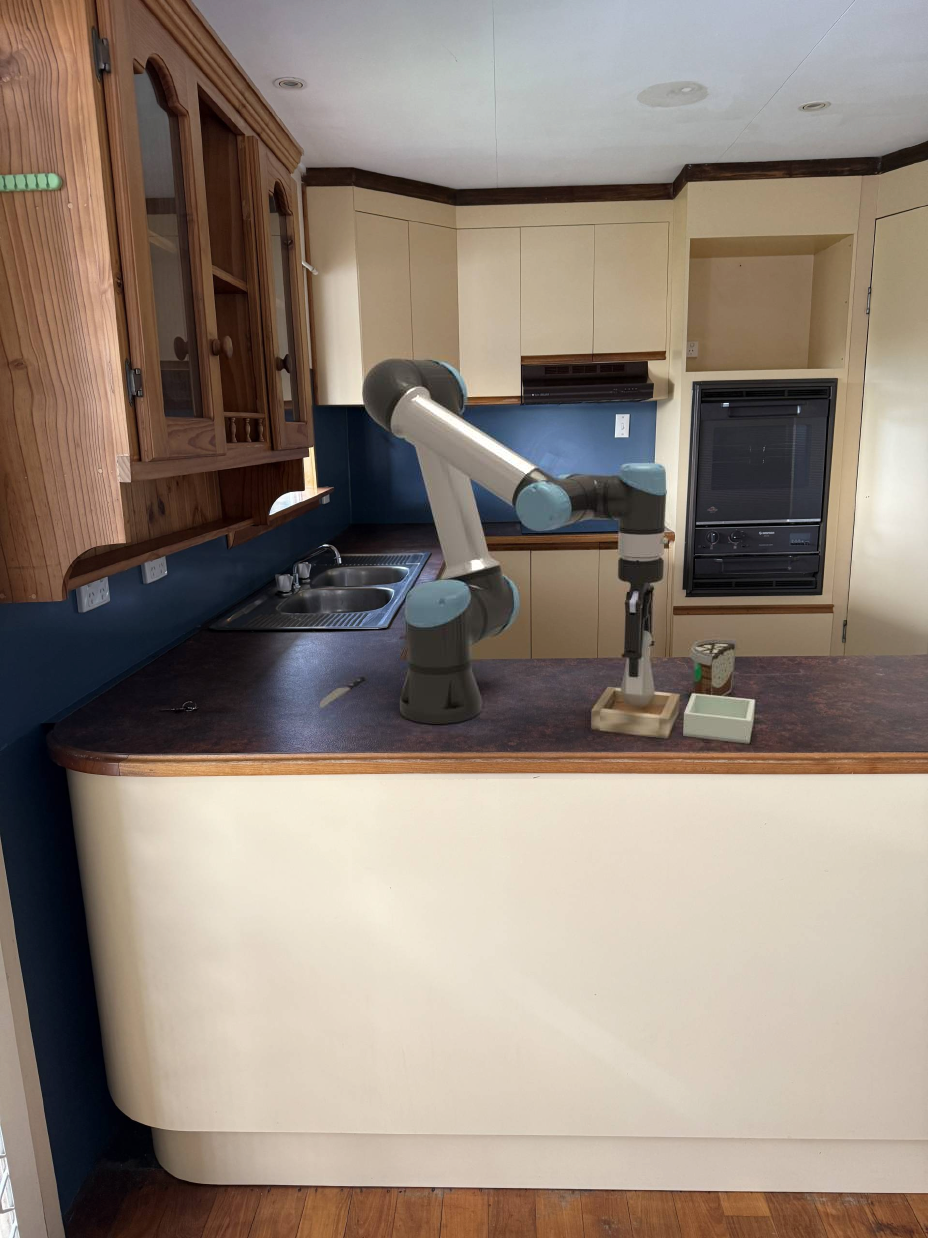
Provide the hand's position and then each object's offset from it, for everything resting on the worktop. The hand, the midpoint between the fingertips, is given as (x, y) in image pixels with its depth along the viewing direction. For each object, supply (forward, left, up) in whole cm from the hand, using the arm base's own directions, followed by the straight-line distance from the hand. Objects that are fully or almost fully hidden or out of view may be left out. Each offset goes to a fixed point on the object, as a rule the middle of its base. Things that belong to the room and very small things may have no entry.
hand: (637, 687), depth 146 cm
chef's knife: (-59, -4, -7) cm, 59 cm away
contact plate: (0, 0, -6) cm, 6 cm away
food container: (+10, +18, -6) cm, 22 cm away
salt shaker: (0, 0, -3) cm, 3 cm away
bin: (+14, +1, -6) cm, 15 cm away
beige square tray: (0, 0, -6) cm, 6 cm away
